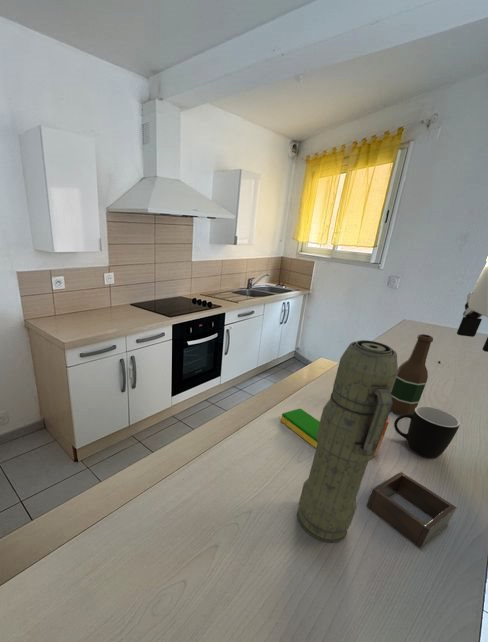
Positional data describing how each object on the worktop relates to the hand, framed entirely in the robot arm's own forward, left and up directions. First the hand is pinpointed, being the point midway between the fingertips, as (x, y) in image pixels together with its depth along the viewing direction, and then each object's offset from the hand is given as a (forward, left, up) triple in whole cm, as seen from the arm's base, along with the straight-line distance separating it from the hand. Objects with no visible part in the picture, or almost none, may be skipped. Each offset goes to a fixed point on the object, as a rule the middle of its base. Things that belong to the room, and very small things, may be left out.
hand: (477, 343), depth 65 cm
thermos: (+1, +37, -31) cm, 48 cm away
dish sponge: (+21, +17, -31) cm, 41 cm away
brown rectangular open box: (-6, +21, -30) cm, 37 cm away
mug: (+4, -3, -31) cm, 31 cm away
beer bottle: (+16, -18, -31) cm, 39 cm away
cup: (+10, +10, -30) cm, 34 cm away
